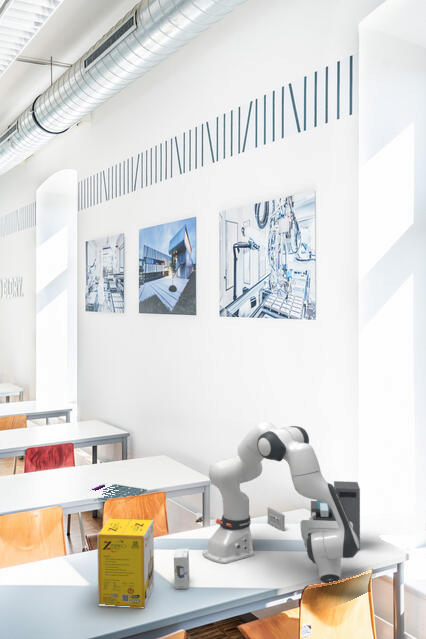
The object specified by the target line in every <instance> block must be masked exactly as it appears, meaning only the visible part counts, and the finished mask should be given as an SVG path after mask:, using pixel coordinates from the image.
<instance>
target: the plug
mask: <svg viewBox="0 0 426 639" xmlns="http://www.w3.org/2000/svg"><path fill="white" fill-rule="evenodd" d="M316 501H317V509H320V513H321V517H328V509H330V506H329V505H328V504H327V503H325V502H322V501H319V500H316Z"/></svg>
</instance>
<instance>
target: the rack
mask: <svg viewBox="0 0 426 639" xmlns="http://www.w3.org/2000/svg"><path fill="white" fill-rule="evenodd" d="M333 487H334V488H335V490H336V492H337V494H338V496H339V498H340V501H341V503H342V505H343V508H344V510H345V512H346V515H347V517H348V520H349V521H350V522H351V523H352V524H353V531H354V532H355V534H356V536H357V538H358V541H359V551H361V502H360V501H361V488H360V485H359V484H358V481H338V480H335V481H333ZM312 512H315V513H316V519H313V520H322V521H336V519H335V516H334V514H333V511H332V509H331V507H330V509H328V517H321V513H320V509H317V500H310V517H311V516H312Z"/></svg>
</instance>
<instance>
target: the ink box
mask: <svg viewBox="0 0 426 639" xmlns="http://www.w3.org/2000/svg"><path fill="white" fill-rule="evenodd" d="M189 554H190V553H189V548H176V549H175V553H174V556H173V568H174V570H173V571H174V573H173V575H174V577H173V578H174V589H175V590H177V589H178V590H179V589H185V590H186V589H189V585H190V558H189V557H190V555H189Z"/></svg>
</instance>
